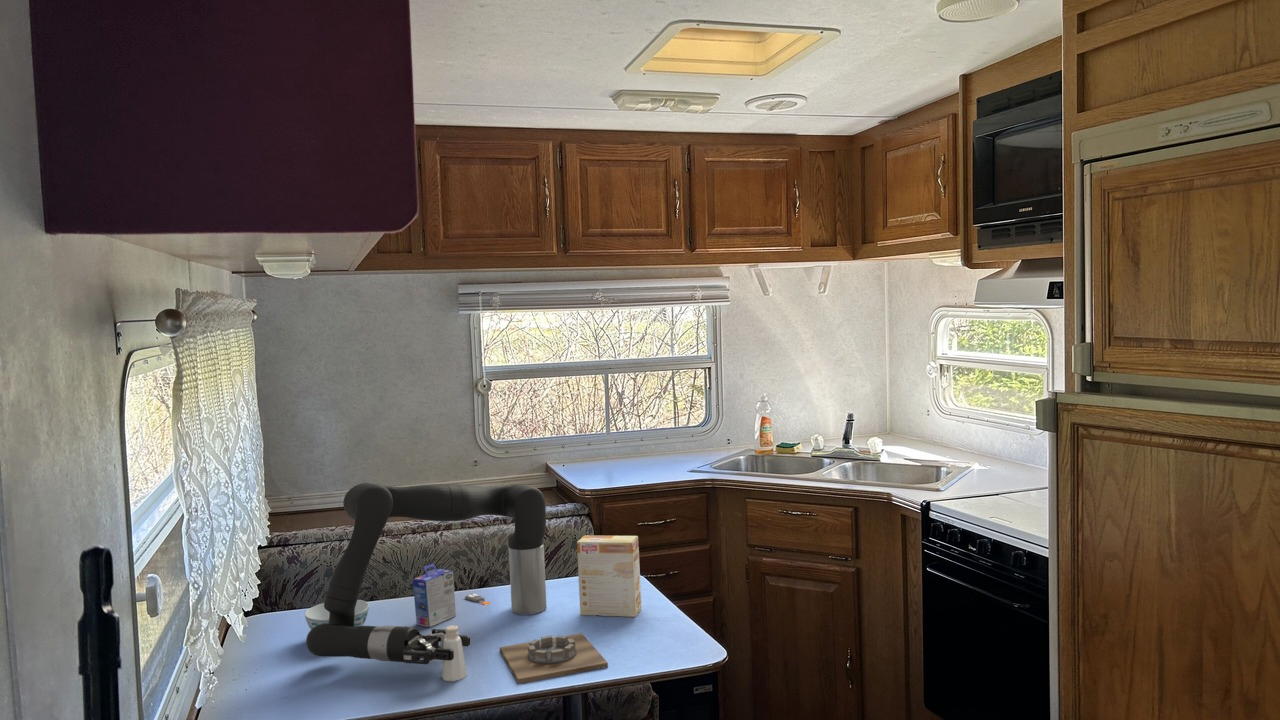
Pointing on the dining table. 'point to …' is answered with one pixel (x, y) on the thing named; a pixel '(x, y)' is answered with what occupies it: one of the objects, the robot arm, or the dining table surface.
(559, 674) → the collar board
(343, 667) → the dining table surface
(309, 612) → the chinaware
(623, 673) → the dining table surface
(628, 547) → the coffeecake box
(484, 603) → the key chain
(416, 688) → the dining table surface
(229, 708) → the dining table surface
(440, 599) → the ink cartridge box
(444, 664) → the pepper shaker
